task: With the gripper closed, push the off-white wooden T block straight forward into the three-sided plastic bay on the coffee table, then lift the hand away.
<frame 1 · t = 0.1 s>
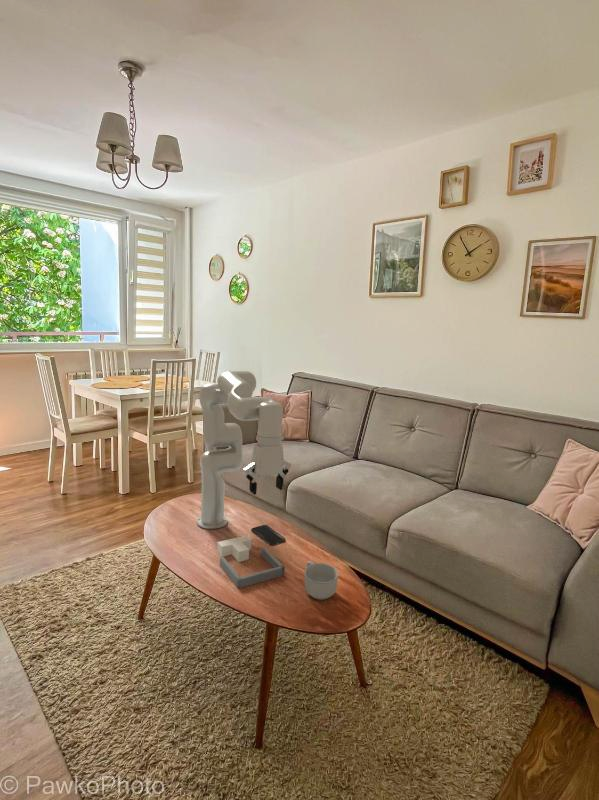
hand: (266, 490, 145), 31 cm above the table, tool pointing down, fingers open, 9 cm apart
phone: (267, 536, 179), on the table
teacup: (317, 591, 145), on the table
bay: (250, 569, 154), on the table
t block: (237, 554, 164), on the table
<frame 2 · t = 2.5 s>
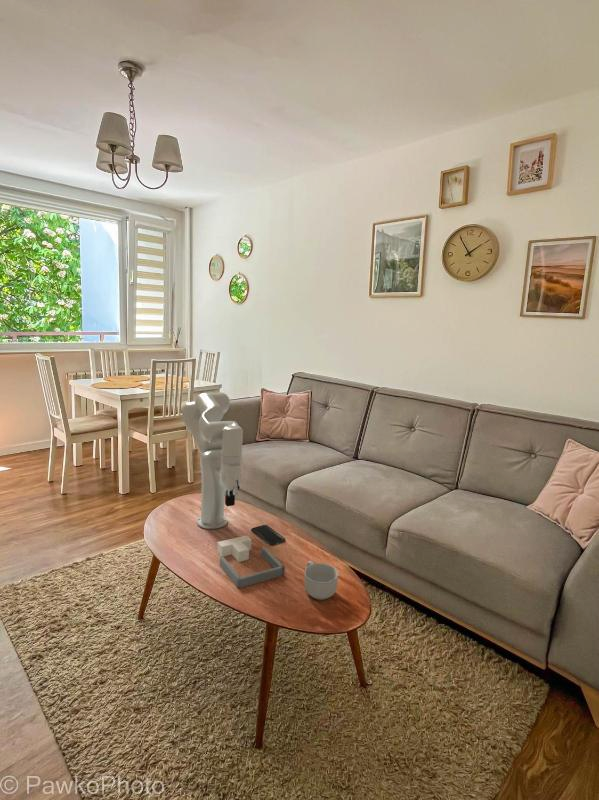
hand: (229, 504, 168), 16 cm above the table, tool pointing down, fingers closed
nothing on the table moved.
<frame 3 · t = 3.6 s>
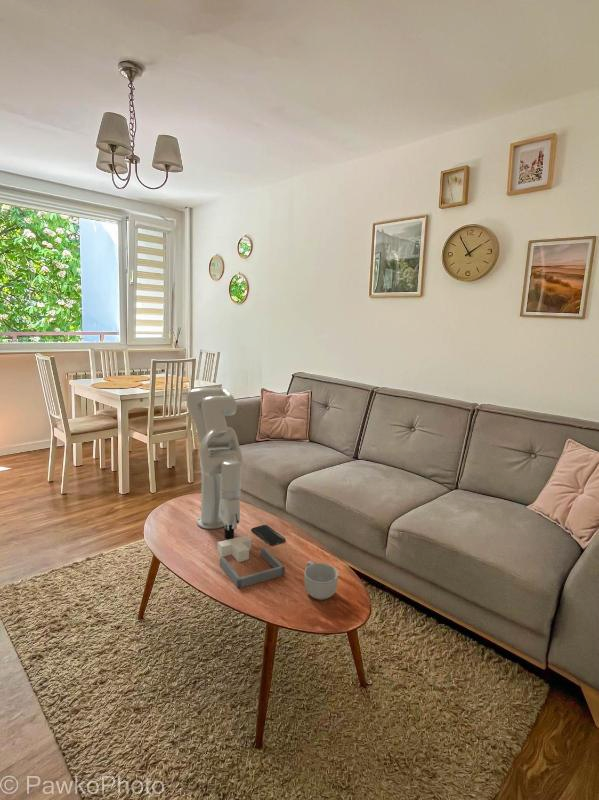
hand: (229, 538, 170), 3 cm above the table, tool pointing down, fingers closed
nothing on the table moved.
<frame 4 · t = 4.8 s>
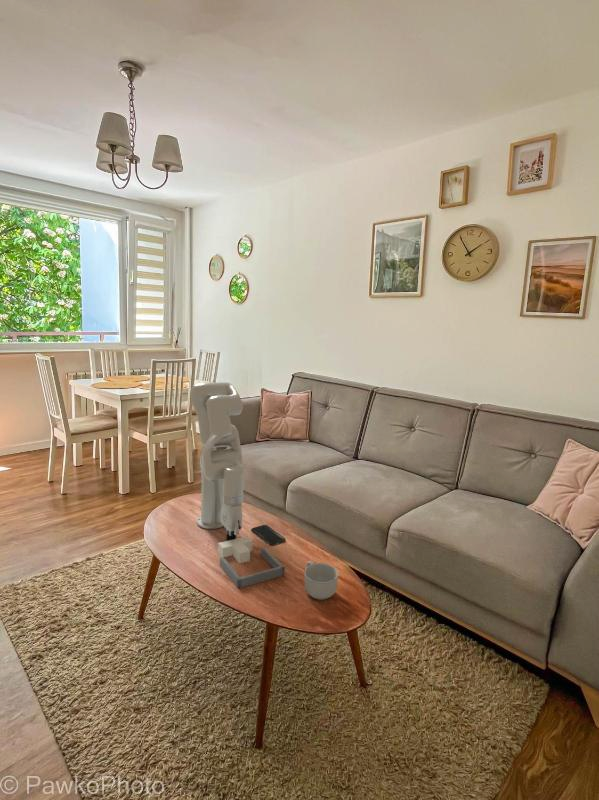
hand: (230, 543, 168), 1 cm above the table, tool pointing down, fingers closed
t block: (238, 555, 163), on the table, touching gripper
everything else where it was.
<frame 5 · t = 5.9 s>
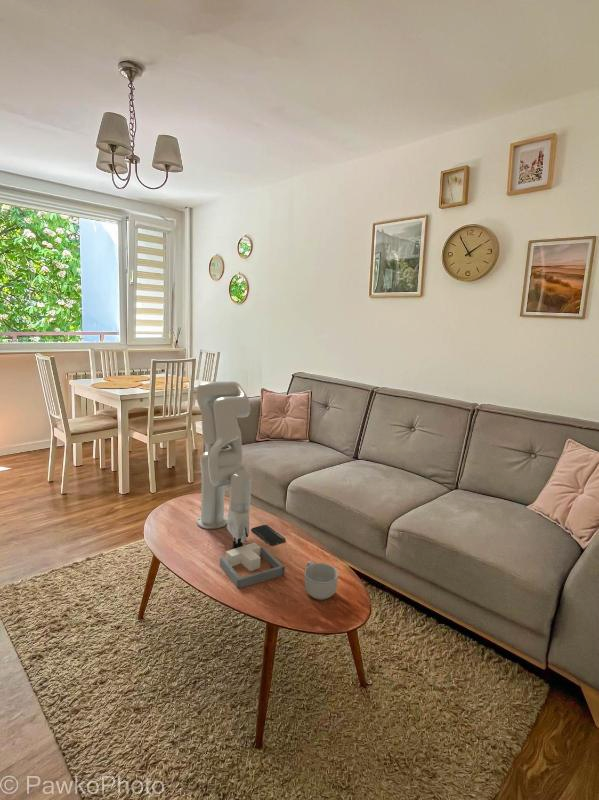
hand: (237, 551, 164), 1 cm above the table, tool pointing down, fingers closed
t block: (247, 563, 158), on the table, touching gripper
everything else where it was.
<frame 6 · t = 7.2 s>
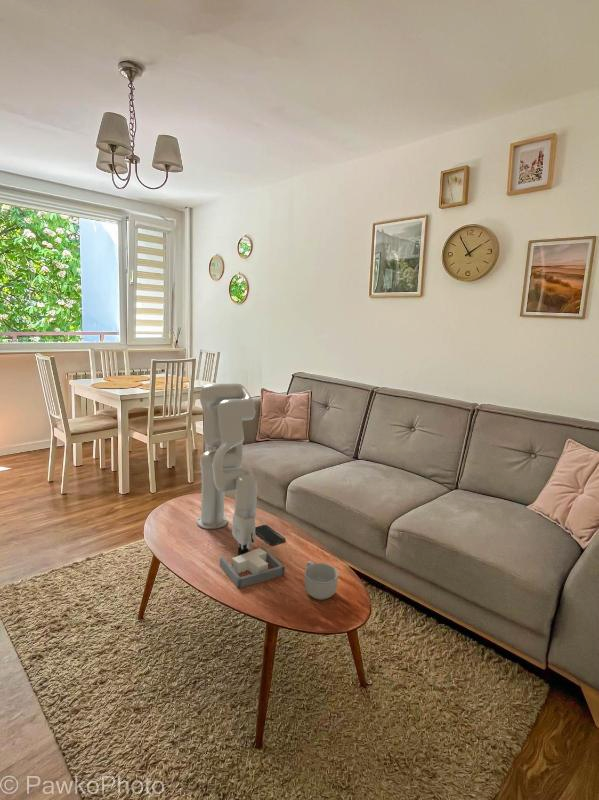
hand: (242, 557, 160), 1 cm above the table, tool pointing down, fingers closed
t block: (254, 569, 155), on the table, touching gripper
everything else where it was.
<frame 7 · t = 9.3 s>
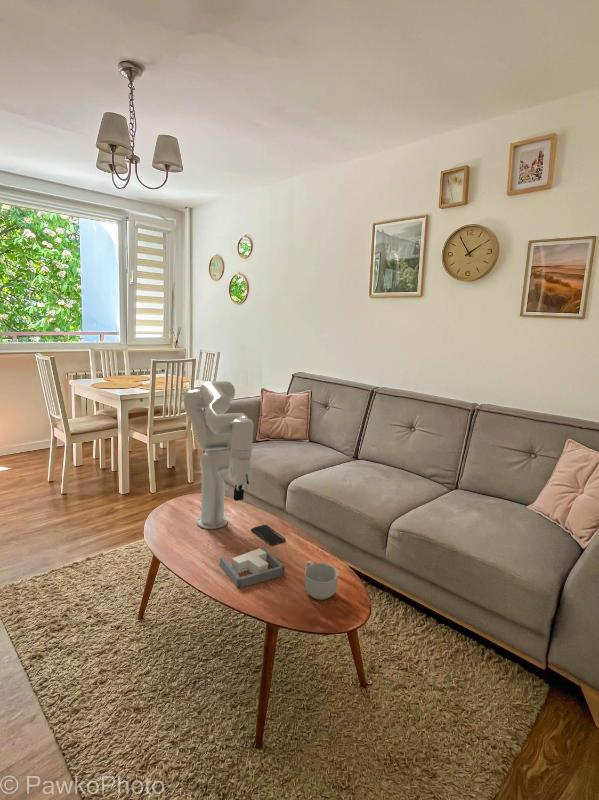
hand: (238, 499, 163), 20 cm above the table, tool pointing down, fingers closed
t block: (254, 569, 154), on the table
everything else where it was.
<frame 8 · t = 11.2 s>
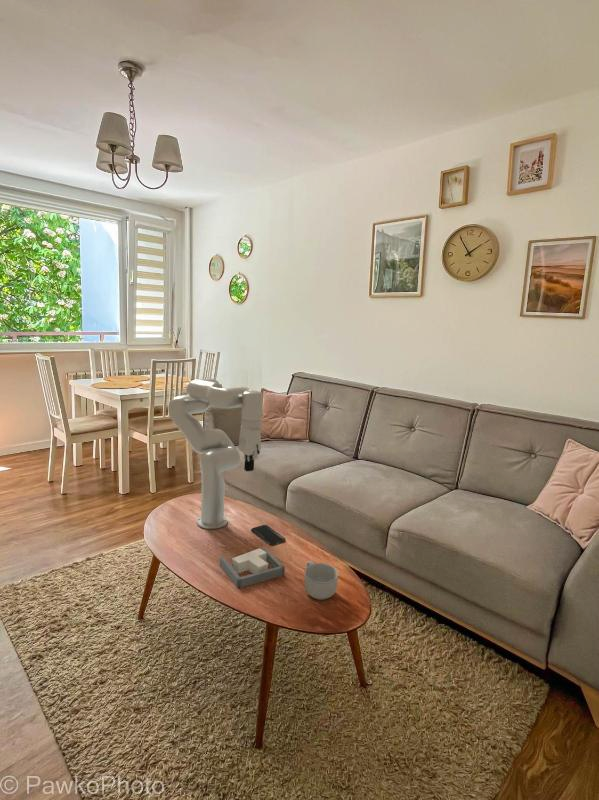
hand: (248, 470, 169), 29 cm above the table, tool pointing down, fingers closed
nothing on the table moved.
at the end: t block 1.4 cm from the target spot, on the table; t block tilted 1°; t block moved 11.7 cm from its start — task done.
